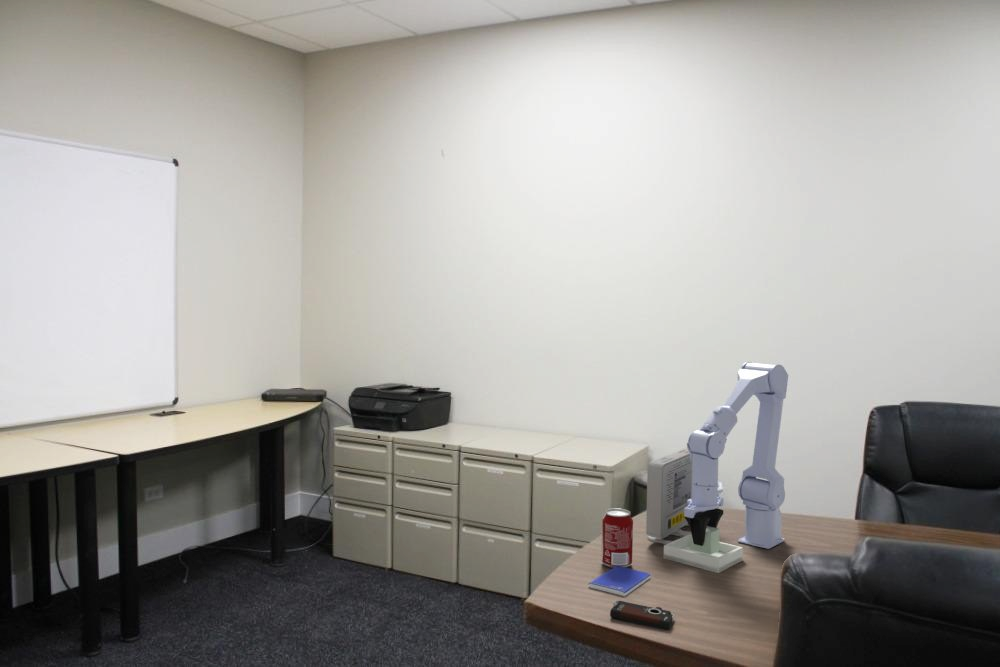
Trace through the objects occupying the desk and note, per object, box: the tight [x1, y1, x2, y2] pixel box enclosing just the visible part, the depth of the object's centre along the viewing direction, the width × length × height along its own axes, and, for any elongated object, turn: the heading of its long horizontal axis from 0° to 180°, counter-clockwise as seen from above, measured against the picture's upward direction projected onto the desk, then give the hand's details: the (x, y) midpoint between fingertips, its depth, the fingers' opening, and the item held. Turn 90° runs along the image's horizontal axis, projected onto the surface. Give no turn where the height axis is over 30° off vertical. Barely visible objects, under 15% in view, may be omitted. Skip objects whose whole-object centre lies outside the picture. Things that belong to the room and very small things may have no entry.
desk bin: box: [663, 534, 744, 574], centre depth 175 cm, size 12×14×3 cm
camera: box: [609, 599, 675, 631], centre depth 143 cm, size 6×3×11 cm
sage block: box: [691, 526, 721, 555], centre depth 175 cm, size 4×5×5 cm
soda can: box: [601, 508, 634, 569], centre depth 171 cm, size 7×7×12 cm
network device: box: [645, 447, 692, 545], centre depth 194 cm, size 26×9×20 cm, turn 144°
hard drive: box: [588, 566, 651, 597], centre depth 161 cm, size 2×8×12 cm
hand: (703, 542), depth 175 cm, fingers closed on sage block, 4 cm apart
